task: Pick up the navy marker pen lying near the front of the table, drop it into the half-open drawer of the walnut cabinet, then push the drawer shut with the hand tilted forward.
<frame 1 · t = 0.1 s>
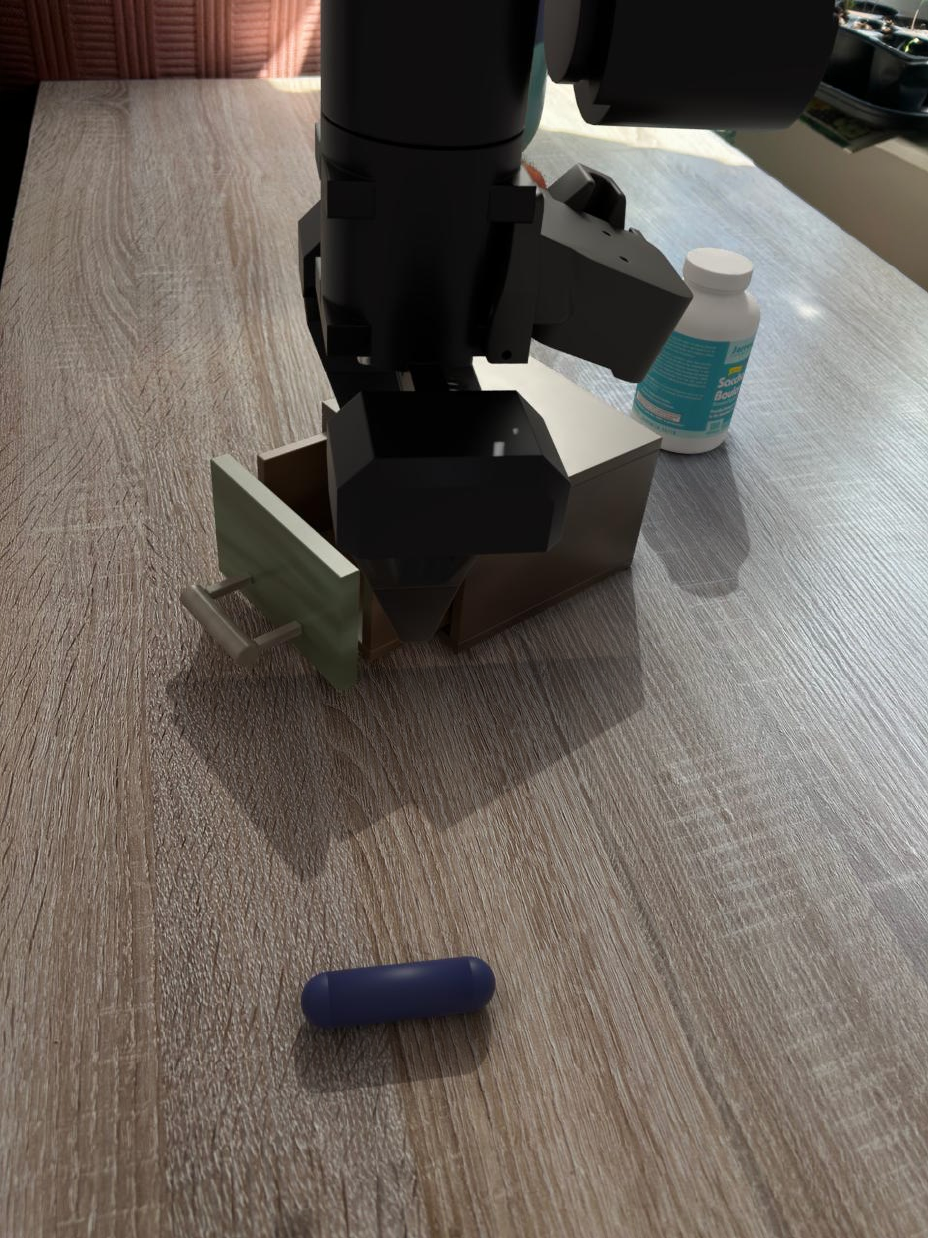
hand: (397, 556, 40), 17 cm above the table, tool pointing down, fingers open, 9 cm apart
pill bottle: (675, 434, 81), on the table
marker: (398, 1005, 44), on the table
pencil: (608, 322, 95), on the table
vase: (478, 155, 126), on the table
drawer: (345, 544, 59), point 5 cm above the table, slide at 6.5 cm
apple: (502, 235, 108), on the table
cabinet: (477, 550, 68), on the table
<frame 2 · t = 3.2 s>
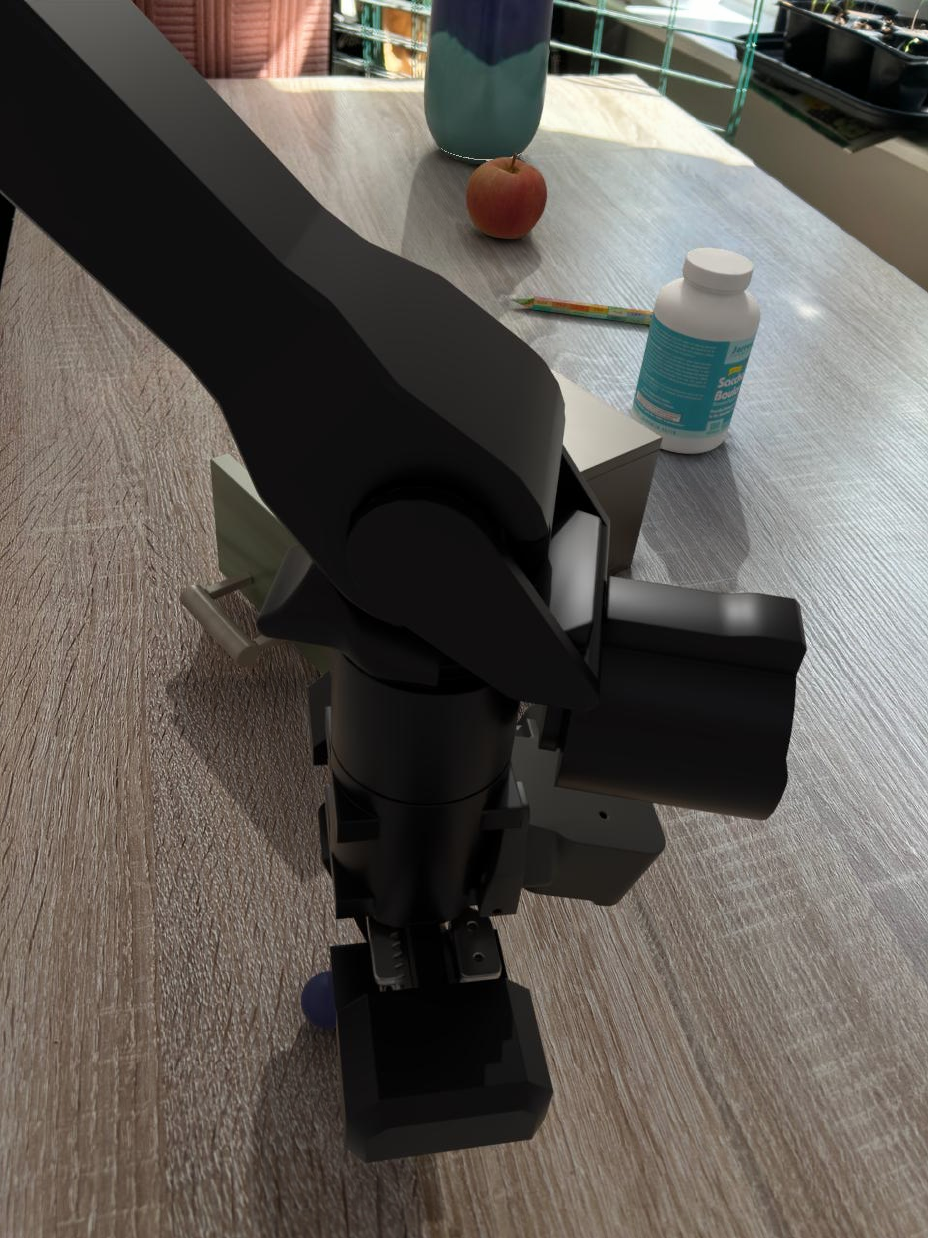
hand: (399, 992, 43), 1 cm above the table, tool pointing down, fingers closed on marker, 2 cm apart
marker: (398, 1005, 44), on the table, touching gripper
everything else where it was.
when the fingers open (7 cm above the table, at t = 7.9 s): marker drops 4 cm, resting on drawer.
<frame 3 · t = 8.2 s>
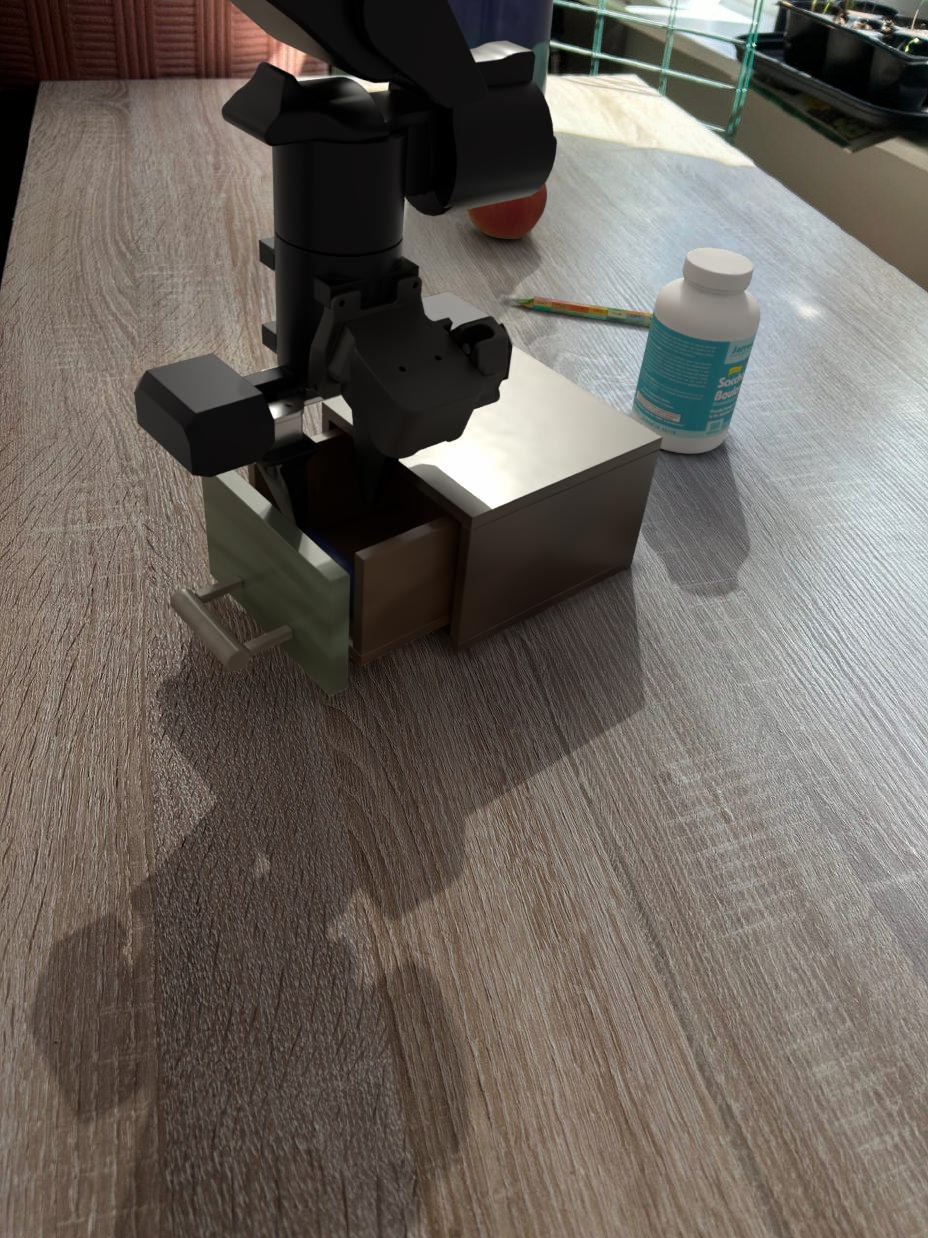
hand: (334, 516, 58), 7 cm above the table, tool pointing down, fingers open, 4 cm apart
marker: (329, 590, 61), point 2 cm above the table, tilted 21°, touching drawer
drawer: (336, 548, 59), point 5 cm above the table, slide at 7.1 cm, touching gripper, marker
everything else where it was.
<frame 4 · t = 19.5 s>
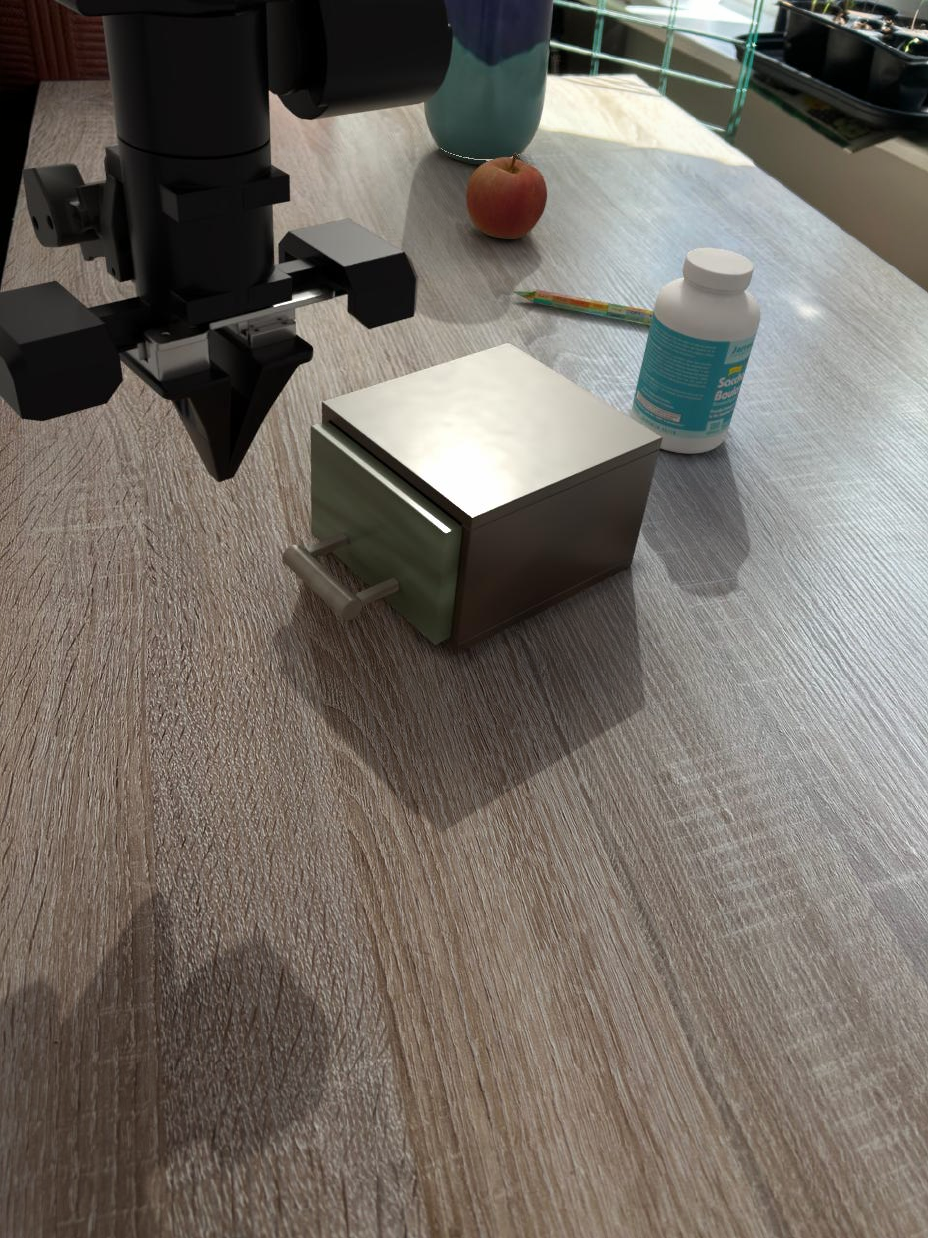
hand: (220, 476, 51), 12 cm above the table, tool pointing down, fingers closed
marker: (417, 537, 63), point 3 cm above the table, tilted 97°, touching drawer
drawer: (435, 507, 63), point 5 cm above the table, slide at 0.0 cm, touching cabinet, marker
at the end: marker inside the target area in the cabinet (4.3 cm from its centre), point 3.2 cm above the cabinet's base; drawer slide at 0.0 cm; the gripper is holding nothing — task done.
